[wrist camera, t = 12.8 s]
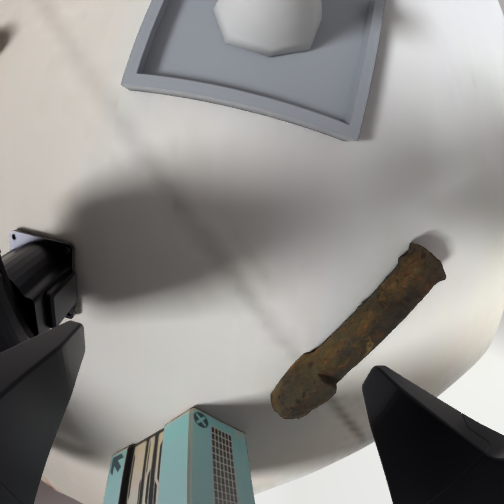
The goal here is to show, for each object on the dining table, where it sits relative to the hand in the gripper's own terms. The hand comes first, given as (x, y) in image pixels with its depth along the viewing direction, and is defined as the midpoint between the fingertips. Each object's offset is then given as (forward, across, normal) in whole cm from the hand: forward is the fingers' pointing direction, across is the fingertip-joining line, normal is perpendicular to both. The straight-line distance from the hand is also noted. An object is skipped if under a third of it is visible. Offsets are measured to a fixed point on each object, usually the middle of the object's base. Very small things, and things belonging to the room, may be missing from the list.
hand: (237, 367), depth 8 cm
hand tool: (+14, -12, +6) cm, 19 cm away
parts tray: (+13, +1, -16) cm, 21 cm away
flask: (+12, +1, -16) cm, 20 cm away
